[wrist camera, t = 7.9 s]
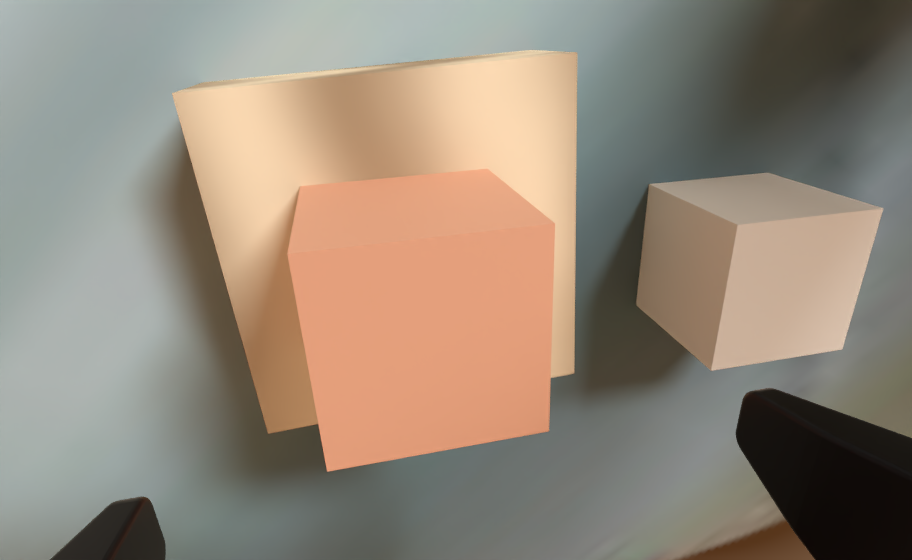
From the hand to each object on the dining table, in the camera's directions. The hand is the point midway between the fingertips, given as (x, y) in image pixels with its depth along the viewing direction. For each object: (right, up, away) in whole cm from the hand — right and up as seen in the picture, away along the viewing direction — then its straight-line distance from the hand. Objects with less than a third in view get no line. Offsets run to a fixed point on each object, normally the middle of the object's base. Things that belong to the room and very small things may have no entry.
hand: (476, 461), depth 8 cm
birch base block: (-2, +5, +11) cm, 12 cm away
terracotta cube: (-2, +3, +7) cm, 8 cm away
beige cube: (+9, +4, +14) cm, 17 cm away
